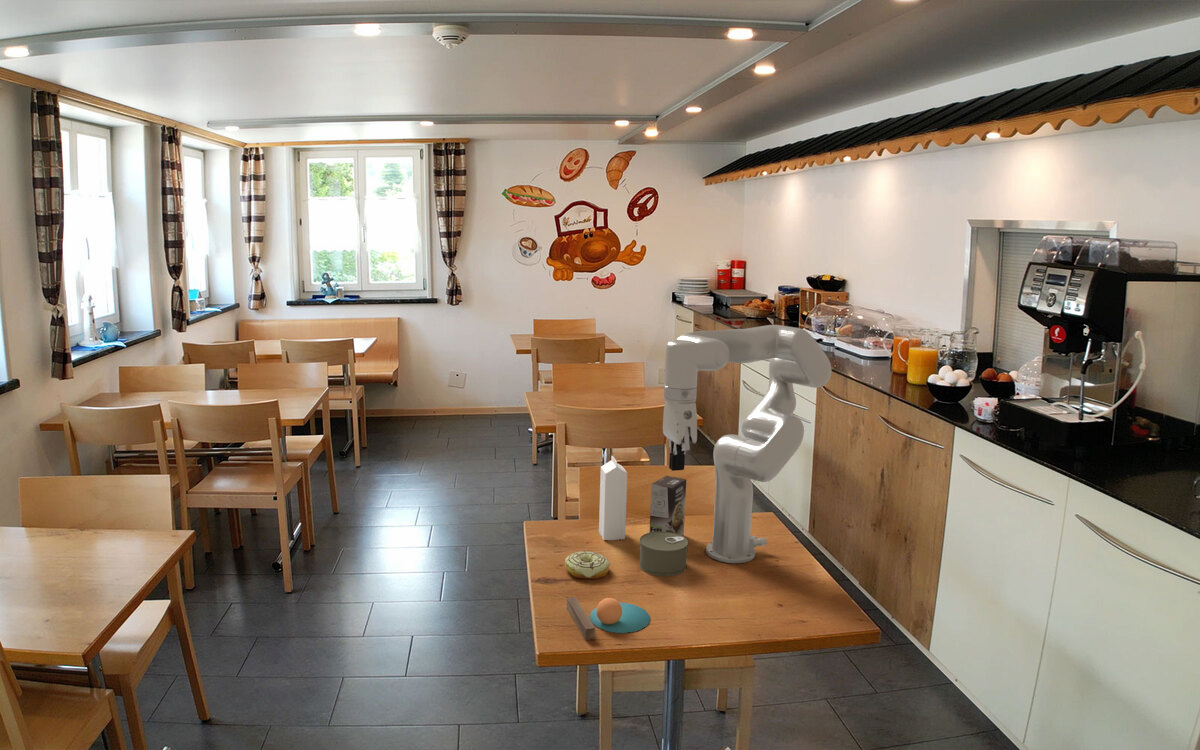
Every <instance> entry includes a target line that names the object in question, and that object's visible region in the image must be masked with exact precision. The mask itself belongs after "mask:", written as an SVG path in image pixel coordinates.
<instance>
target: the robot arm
mask: <svg viewBox="0 0 1200 750" xmlns="http://www.w3.org/2000/svg"><path fill="white" fill-rule="evenodd" d="M766 360H770V361H769V365H768V367H769V368H768V374H769V375H768V376H769V380H768V388H767V391H766V393H765V394H764V396H763V397H762V398H761V399H760V400H759V402H758V403H757V404H756V405H755V406H754V408H753V409H752V410H751V411H750V412H749V413H748V414H747V416H746V417H745V418H744V420H743V422H742V424H741V432H742V435H743V436H742V435H738V434H733V433H732V434H725V435H722V436H721V437H720V438H719V439H718V440H717V441H716V443H715V444H714V446H713V447H714V448H713V456H712V457H713V463H714V470H715V471H714V472H715V493H714V509H713V529H712V542H709V543H708V544H707V545H706V547H705V552H706V554H707V555H708V556H709V558H711V559H712V560H713V559H714V560H716V561H718V562H721V563H727V564H743V563H747V562H750V561H752V560H754V558H755V556H756V550H755V549H754V548H756V547H758V546H759V547H761V546H762V547H764V546H767V544H768V542H767V538H766V537H759V538H758V536H757V535H751V532H752V531H751V530H752V529H751V528H752V513H753V512H752V511H753V501H754V500H753V499H754V487H753V482H752V480H753V481H755V482H760V483H768V482H770V481H771V480H773V479H774V478H775V477H776V476H778V475H779V473H780V472H781V471H782V469H783V468H784V467H785V466H786V464H787V463H788V462H789V461H790V460H791V458H792V457H793V456H794V455H795V454H796V452H797V451H798V449H799V448H800V446H801V444H802V442H803V440H804V435H805V426H804V424H803V421H802V420H801V418H799V417H797V416H796V415H794V414H793V413H794V411H795V410H796V406H797V397H796V394H795V391H794V390H795V389H794V385H793V384H795V385H799V386H802V387H803V386H804V387H810V388H814V389H815V388H817V389H818V388H821V387H824V386H825V385H826V384H827V383H828V382H829V381H830V380H831V377H832V365H831V361H830V359H829V358H828V355H826V353H825V352H824V350H823V349H822V347H821V346H820V344H819V343H818V342H817V340H816V339H815V338H814V337H813V336H812V335H811V334H810V333H809V332H808V331H807V330H805V329H803V328H800V327H795V326H794V327H793V326H789V325H781V324H767V325H760V326H755V327H748V328H741V329H739V328H736V329H733V328H731V329H721V330H719V329H718V330H715V329H714V330H700V331H693V332H686V333H683V334H681V335H680V336H678V337H677V338H676V339H673V340H670V341H668V342H667V343H666V345H665V359H664V362H665V363H664V381H663V382H664V383H663V400H664V406H663V417H662V433H663V436H664V437H666V439H667V441H668V447H669V448H668V450H669V461H668V462H669V463H668V467H669V468H668V469H670V470H671V471H673V472H675V471H684V470H685V462H686V461H685V460H686V459H685V458H686V454H687V452H688V451H689V452H690V448H691V447H690V443H691V444H692V445H693V444H695V445H696V443H697V441H698V411H697V404H696V402H697V391H698V389H697V388H698V372H700V371H703V372H704V371H705V372H706V371H707V372H715V371H718V370H721V369H722V368H724V367H725V366H727V364H728V363H733V364H750V363H754V362H760V361H766Z"/></svg>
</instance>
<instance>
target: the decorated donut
mask: <svg viewBox="0 0 1200 750" xmlns="http://www.w3.org/2000/svg"><path fill="white" fill-rule="evenodd" d="M564 560H565V562H564V566H565V568H566V571H567V572H568V573H569V574H570V575H571V576H572V577H575V578H578V579H589V580H590V579H591V580H594V579H600V578H603V577H605V576H607V574H608V572H609V570H610V569H609V567H610V566H611V564H610V561H609V560H608V558H607V557H606V556H605V555H602V554H601V553H599V552H595V551H576V552H572V553H571V554H570V555H568V556H567V557H565V559H564Z"/></svg>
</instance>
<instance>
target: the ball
mask: <svg viewBox="0 0 1200 750" xmlns="http://www.w3.org/2000/svg"><path fill="white" fill-rule="evenodd" d="M620 603H621V602H619V601H618V600H617V599H616V598H613V597H605V598H603V599H602V600H600V601H599V602H598V604H597V606H596V607H597V610H596V613H597V617H598V619H599V620H600V621H601V622H602V623H604V624H607V625H611V624H615V623H616V622H618V621H619V619H620V618H621V616H622V607H621V605H620Z"/></svg>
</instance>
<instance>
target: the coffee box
mask: <svg viewBox="0 0 1200 750" xmlns="http://www.w3.org/2000/svg"><path fill="white" fill-rule="evenodd" d="M650 490H651V492H650V493H651V494H650V512H649V531H648V533H650V532H657V531H664V532H672V533H676V534H679V535H681V536H683V537H684V535H685V534H684V533H685V514H686V494H687V479H685V478H682V477H676V476H669V475H665V476H663V477H662V478H660V479H657V480H656V481H654V482H652V483H651V489H650Z"/></svg>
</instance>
